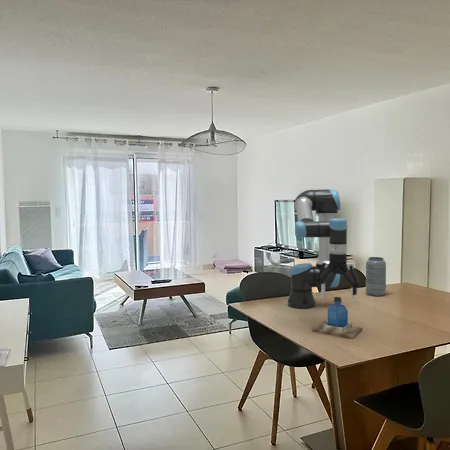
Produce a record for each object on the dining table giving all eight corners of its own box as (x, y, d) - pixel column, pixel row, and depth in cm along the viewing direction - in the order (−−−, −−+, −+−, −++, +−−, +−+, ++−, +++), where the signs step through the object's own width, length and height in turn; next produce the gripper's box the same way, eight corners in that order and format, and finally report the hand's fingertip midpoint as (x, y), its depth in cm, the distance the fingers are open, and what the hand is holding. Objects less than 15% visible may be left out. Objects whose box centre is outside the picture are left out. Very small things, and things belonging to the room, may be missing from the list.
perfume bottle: (337, 326, 182) (337, 300, 182) (327, 323, 188) (327, 297, 187) (347, 324, 185) (347, 298, 185) (337, 321, 191) (338, 295, 190)
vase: (388, 296, 251) (389, 259, 250) (369, 296, 251) (369, 259, 250) (381, 292, 263) (382, 256, 261) (363, 292, 263) (363, 256, 262)
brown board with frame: (312, 331, 186) (312, 324, 186) (324, 323, 198) (324, 317, 198) (352, 339, 176) (352, 331, 176) (362, 330, 187) (362, 323, 187)
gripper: (308, 252, 189) (308, 297, 191) (363, 256, 174) (362, 305, 176) (314, 250, 195) (314, 294, 197) (368, 254, 181) (368, 301, 182)
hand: (337, 300), depth 186 cm, fingers open, 13 cm apart
